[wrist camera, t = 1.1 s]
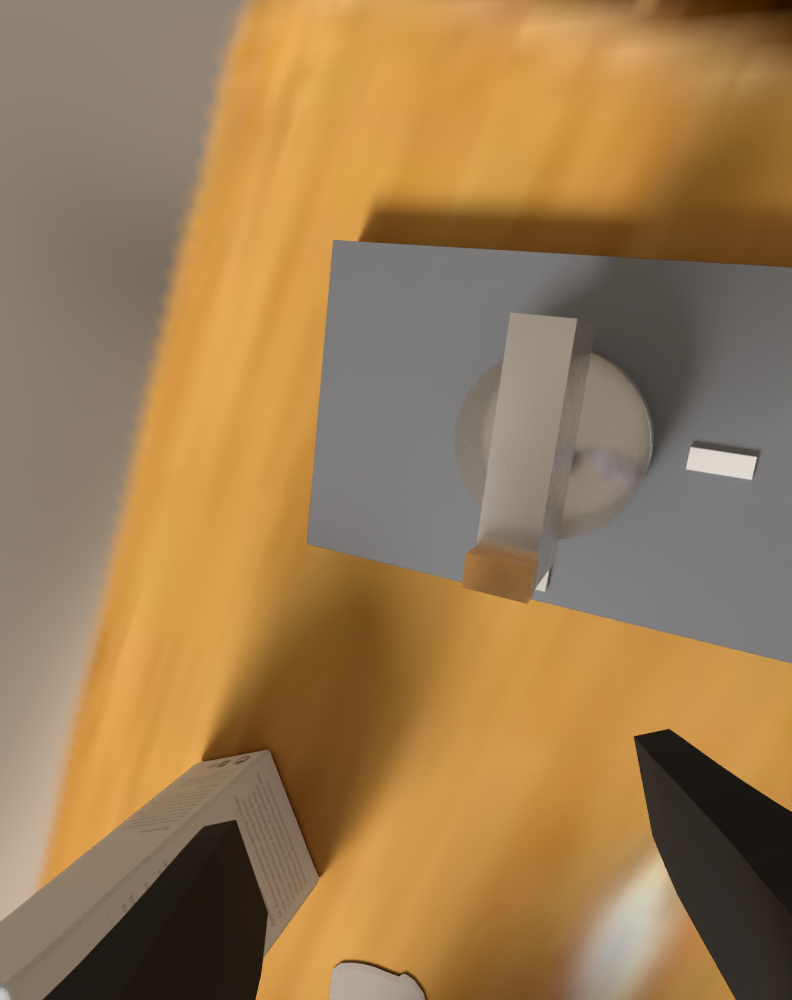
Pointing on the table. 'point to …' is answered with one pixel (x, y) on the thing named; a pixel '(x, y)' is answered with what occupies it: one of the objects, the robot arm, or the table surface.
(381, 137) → the table surface
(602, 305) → the base
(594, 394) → the knob
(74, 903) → the skincare box
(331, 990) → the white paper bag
